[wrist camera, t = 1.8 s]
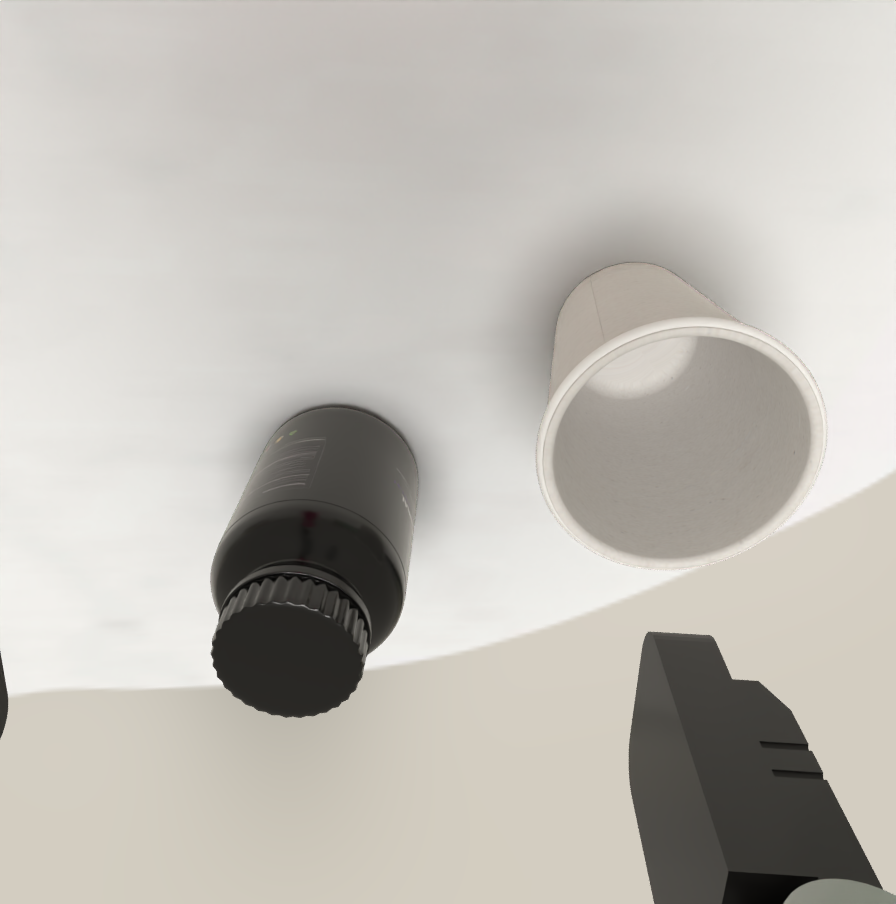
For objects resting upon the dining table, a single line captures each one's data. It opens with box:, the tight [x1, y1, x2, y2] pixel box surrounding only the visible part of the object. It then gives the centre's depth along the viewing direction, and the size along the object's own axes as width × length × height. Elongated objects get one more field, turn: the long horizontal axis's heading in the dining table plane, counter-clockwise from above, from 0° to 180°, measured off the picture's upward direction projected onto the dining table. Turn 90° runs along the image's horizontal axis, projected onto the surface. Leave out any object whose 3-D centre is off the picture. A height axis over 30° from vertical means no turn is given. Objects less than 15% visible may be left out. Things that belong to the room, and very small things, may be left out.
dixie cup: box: [536, 262, 827, 570], centre depth 29 cm, size 8×8×10 cm
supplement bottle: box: [210, 407, 418, 718], centre depth 32 cm, size 7×7×12 cm
